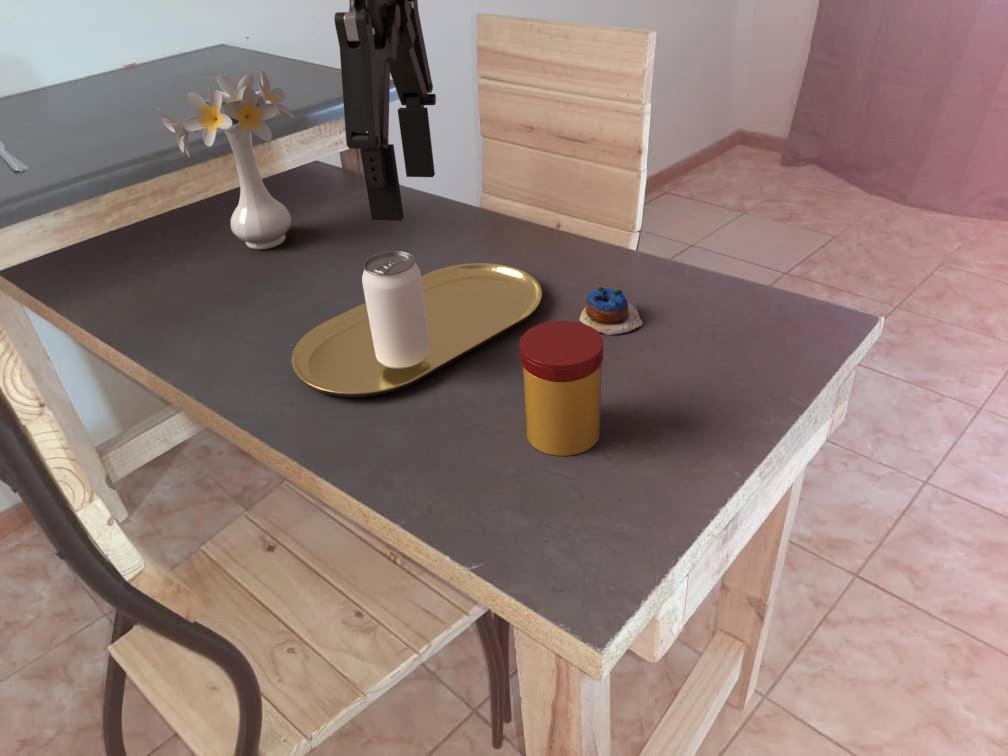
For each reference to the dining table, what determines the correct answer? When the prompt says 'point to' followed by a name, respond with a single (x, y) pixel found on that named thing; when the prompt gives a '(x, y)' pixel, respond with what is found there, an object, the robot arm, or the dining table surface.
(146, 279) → the dining table surface
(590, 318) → the dessert
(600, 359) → the jar lid
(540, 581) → the dining table surface
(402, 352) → the can
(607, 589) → the dining table surface
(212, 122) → the flower vase
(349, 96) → the robot arm
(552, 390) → the jar
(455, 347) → the serving platter
